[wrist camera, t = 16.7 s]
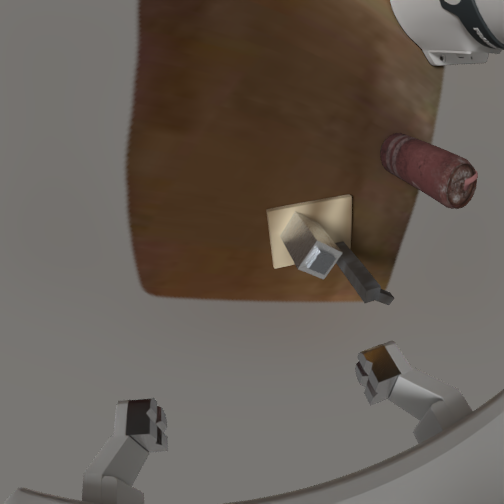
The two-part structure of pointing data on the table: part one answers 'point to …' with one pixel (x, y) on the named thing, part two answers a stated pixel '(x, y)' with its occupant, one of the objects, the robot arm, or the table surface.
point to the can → (430, 169)
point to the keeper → (338, 228)
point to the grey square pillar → (310, 246)
